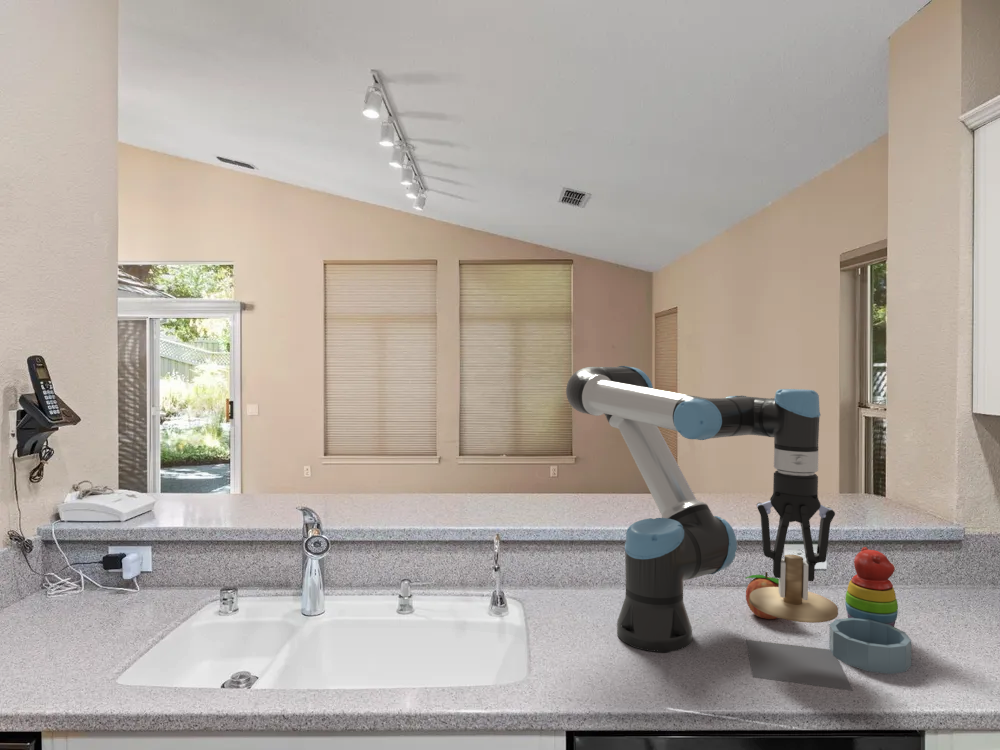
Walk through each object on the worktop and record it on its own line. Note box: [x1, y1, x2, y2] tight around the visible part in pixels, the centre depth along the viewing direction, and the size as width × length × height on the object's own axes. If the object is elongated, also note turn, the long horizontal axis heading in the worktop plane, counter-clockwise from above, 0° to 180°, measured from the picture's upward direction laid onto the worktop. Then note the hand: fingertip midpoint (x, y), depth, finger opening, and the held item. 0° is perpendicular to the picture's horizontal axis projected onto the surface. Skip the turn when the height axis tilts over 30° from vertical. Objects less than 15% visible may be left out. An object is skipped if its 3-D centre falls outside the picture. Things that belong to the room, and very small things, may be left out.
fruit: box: [745, 571, 779, 620], centre depth 140 cm, size 9×10×10 cm
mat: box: [745, 639, 854, 691], centre depth 117 cm, size 16×16×1 cm
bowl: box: [828, 617, 912, 675], centre depth 120 cm, size 13×13×5 cm
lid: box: [750, 554, 839, 624], centre depth 117 cm, size 15×15×9 cm
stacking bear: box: [845, 546, 899, 627], centre depth 130 cm, size 11×10×18 cm
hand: (792, 595), depth 118 cm, fingers closed on lid, 3 cm apart
